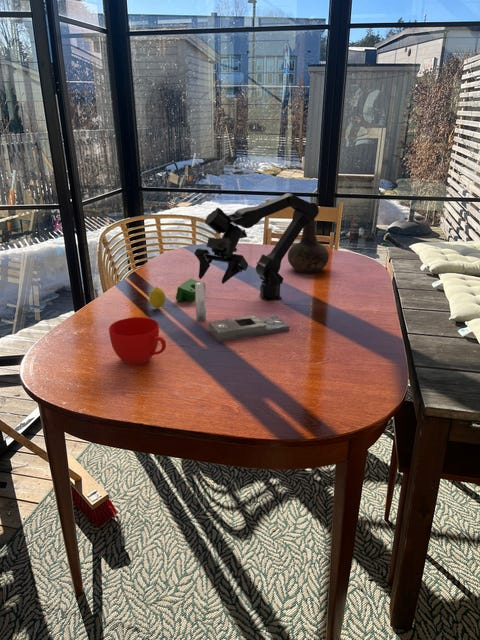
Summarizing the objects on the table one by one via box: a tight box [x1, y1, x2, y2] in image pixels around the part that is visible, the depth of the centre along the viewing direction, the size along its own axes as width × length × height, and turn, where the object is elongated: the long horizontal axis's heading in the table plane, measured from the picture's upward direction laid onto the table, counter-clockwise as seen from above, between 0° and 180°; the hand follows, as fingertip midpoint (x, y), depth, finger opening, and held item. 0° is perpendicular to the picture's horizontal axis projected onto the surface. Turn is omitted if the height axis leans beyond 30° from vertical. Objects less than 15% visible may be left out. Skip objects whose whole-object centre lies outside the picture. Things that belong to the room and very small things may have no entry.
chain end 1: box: [208, 314, 266, 343], centre depth 146 cm, size 16×9×3 cm, turn 112°
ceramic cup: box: [108, 316, 167, 366], centre depth 126 cm, size 13×17×10 cm
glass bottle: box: [287, 218, 330, 274], centre depth 206 cm, size 18×18×28 cm
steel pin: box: [195, 281, 207, 322], centre depth 153 cm, size 3×3×12 cm
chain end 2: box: [235, 315, 290, 340], centre depth 148 cm, size 18×9×2 cm, turn 112°
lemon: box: [148, 286, 166, 310], centre depth 163 cm, size 6×6×8 cm
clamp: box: [175, 278, 200, 302], centre depth 175 cm, size 12×6×9 cm, turn 156°
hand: (210, 280), depth 156 cm, fingers open, 9 cm apart
